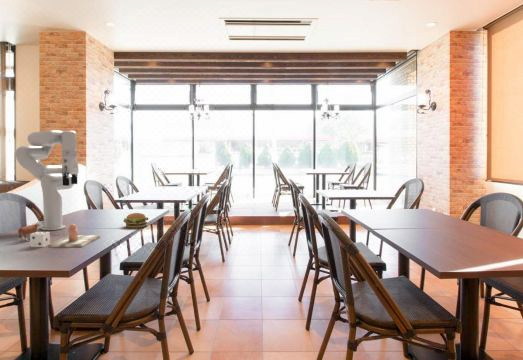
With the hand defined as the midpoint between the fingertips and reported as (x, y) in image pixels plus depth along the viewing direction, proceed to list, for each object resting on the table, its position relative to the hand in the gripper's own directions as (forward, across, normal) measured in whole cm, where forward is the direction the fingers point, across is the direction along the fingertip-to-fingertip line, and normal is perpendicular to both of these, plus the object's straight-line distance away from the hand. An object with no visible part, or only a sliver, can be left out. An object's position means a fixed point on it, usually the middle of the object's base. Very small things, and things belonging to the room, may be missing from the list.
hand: (70, 184), depth 220 cm
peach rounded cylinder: (+25, -26, -13) cm, 39 cm away
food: (+27, +18, -30) cm, 44 cm away
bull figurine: (+27, -19, +12) cm, 35 cm away
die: (+26, -32, 0) cm, 41 cm away
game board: (+26, -24, -13) cm, 38 cm away
